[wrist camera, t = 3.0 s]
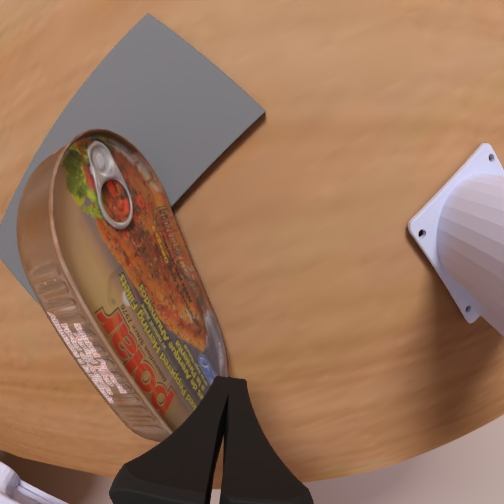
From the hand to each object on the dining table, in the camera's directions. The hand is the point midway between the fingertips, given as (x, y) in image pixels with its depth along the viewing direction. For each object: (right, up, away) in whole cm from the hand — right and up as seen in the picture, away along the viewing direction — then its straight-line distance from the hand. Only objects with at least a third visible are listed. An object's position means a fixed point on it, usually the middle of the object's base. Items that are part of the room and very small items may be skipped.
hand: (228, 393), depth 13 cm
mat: (-8, +10, +3) cm, 13 cm away
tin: (-4, +6, +4) cm, 8 cm away
